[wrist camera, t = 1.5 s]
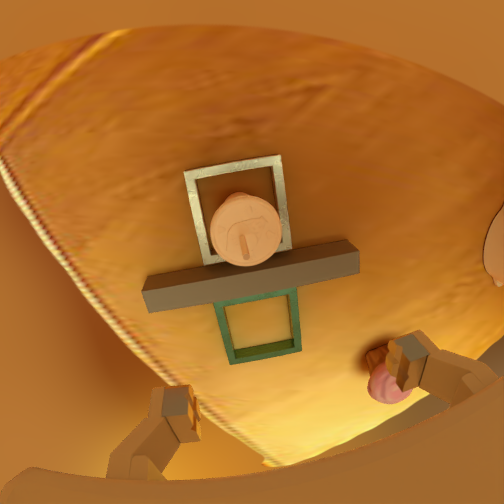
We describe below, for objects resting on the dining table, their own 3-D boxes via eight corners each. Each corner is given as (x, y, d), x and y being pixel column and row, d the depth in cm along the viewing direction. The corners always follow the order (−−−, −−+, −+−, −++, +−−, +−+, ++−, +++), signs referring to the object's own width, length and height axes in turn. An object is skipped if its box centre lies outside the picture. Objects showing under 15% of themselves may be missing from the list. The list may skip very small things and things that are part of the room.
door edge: (346, 239, 39) (359, 250, 35) (347, 260, 40) (359, 273, 36) (147, 276, 38) (141, 291, 34) (154, 296, 39) (148, 313, 35)
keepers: (276, 154, 34) (280, 155, 32) (298, 342, 44) (301, 350, 42) (185, 170, 33) (183, 172, 31) (229, 356, 44) (229, 365, 42)
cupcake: (399, 327, 46) (429, 364, 37) (399, 361, 49) (424, 397, 40) (351, 347, 46) (376, 390, 37) (356, 380, 49) (377, 420, 40)
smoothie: (200, 205, 35) (190, 249, 22) (242, 168, 34) (258, 191, 21) (236, 244, 37) (247, 305, 24) (277, 209, 36) (311, 254, 23)
